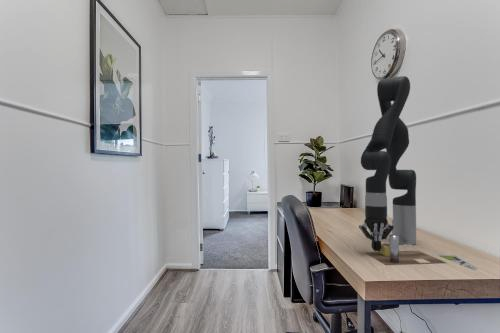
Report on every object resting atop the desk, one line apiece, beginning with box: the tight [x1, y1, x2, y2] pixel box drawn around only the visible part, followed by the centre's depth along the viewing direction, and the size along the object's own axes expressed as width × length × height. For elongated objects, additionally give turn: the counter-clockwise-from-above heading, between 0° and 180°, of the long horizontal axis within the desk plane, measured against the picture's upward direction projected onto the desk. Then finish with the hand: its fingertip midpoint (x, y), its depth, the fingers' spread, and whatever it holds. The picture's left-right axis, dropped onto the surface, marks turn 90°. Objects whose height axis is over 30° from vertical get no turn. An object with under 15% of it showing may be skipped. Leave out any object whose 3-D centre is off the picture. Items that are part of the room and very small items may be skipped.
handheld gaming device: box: [434, 253, 478, 270], centre depth 97 cm, size 9×1×15 cm
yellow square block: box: [377, 242, 390, 256], centre depth 101 cm, size 5×5×4 cm
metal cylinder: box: [389, 233, 400, 263], centre depth 92 cm, size 3×3×9 cm
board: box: [364, 250, 447, 266], centre depth 97 cm, size 14×22×2 cm, turn 95°
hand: (376, 250), depth 100 cm, fingers closed
